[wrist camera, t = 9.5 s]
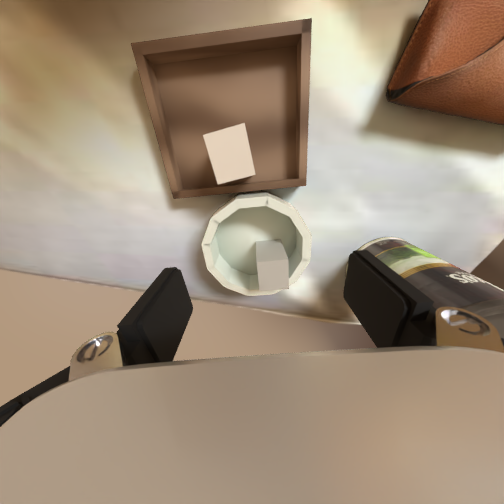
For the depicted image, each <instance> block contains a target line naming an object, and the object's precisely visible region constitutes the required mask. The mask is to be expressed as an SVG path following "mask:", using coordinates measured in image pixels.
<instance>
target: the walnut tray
mask: <svg viewBox="0 0 504 504" xmlns="http://www.w3.org/2000/svg"><path fill="white" fill-rule="evenodd" d="M311 24H312V18H310V19H303V20H296V21H289V22H282V23H274V24H267V25H260V26H253V27H245V28H238V29H231V30H224V31H217V32H209V33H202V34H195V35H188V36H181V37H173V38H166V39H159V40H152V41H144V42H137V43H131V46H132V49H133V53H134V57H135V60H136V64H137V67H138V71H139V75H140V78H141V82H142V86H143V89H144V93H145V96H146V100H147V104H148V107H149V111H150V115H151V118H152V122H153V126H154V129H155V133H156V136H157V140H158V144H159V147H160V151H161V155H162V158H163V162H164V165H165V169H166V173H167V176H168V180H169V184H170V187H171V191H172V194H173V198H174V199H176V198H186V197H196V196H207V195H217V194H227V193H237V192H247V191H257V190H267V189H277V188H287V187H297V186H306V173H307V143H308V114H309V84H310V54H311ZM242 123H245V127H246V132H247V137H248V141H249V146H250V151H251V156H252V160H253V165H254V170H255V174H256V175H253V176H249V177H245V178H241V179H237V180H233V181H230V182H226V183H222V184H217V180H216V177H215V174H214V170H213V167H212V164H211V160H210V157H209V154H208V150H207V147H206V144H205V140H204V137H203V135H205V134H208V133H211V132H215V131H218V130H222V129H225V128H229V127H232V126H235V125H239V124H242Z"/></svg>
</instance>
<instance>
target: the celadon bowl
mask: <svg viewBox="0 0 504 504" xmlns="http://www.w3.org/2000/svg"><path fill="white" fill-rule="evenodd" d="M311 236H312V235H311V233H310V231H309V229H308V228H307V226H306V224H305V223H304V221H303V219H302V218H301V216H300V214H299V213H298V211H297V210H296V209H295V208H294V207H293V206H292V205H291V204H290V203H288V202H286V201H284V200H282V199H281V198H279V197H277V196H275V195H272V194H270V193H268V192H250V193H245V194H238V195H237V196H235V197H234V198H232V199H231V200H229V201H228V202H227V203H226V204H224V205H223V206H222V207H221V208H219V209H218V210H217V211H216V212H215V213H214V215H213V216H212V217H211V219H210V221H209V224H208V227H207V230H206V232H205V235H204V238H203V241H202V243H201V245H202V249H203V254H204V258H205V262H206V266H207V270H208V271H209V272H210V273H211V274H212V275H213V276H214V277H215V278H216V279H217V280H218V281H219V282H220V283H221V284H222V285H223V286H224V287H225V288H228V289H230V290H233V291H236V292H239V293H241V294H244V295H247V296H255V295H269V294H275V293H277V292H278V291H280V290H269V291H260V290H259V281H258V271H257V261H256V241H266V240H276V239H281V241H282V244H283V246H284V249H285V252H286V254H287V257H288V264H289V285H291V284H293V283H295V282H296V281H297V280H298V278H299V277H300V275H301V274H302V272H303V271H304V269H305V268H306V266H307V265H308V263H309V262H310V255H311ZM281 290H282V289H281Z"/></svg>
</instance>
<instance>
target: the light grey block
mask: <svg viewBox="0 0 504 504" xmlns="http://www.w3.org/2000/svg"><path fill="white" fill-rule="evenodd" d="M256 261H257V271H258V281H259V290H260V291H269V290H281V289H289V264H288V257H287V254H286V252H285V249H284V246H283V244H282V241H281V239H276V240H266V241H256Z"/></svg>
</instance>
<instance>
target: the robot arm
mask: <svg viewBox="0 0 504 504" xmlns="http://www.w3.org/2000/svg"><path fill="white" fill-rule="evenodd" d="M344 299H345V300H346V302H347V303H348V305H349V306H350V308H351V309H352V311H353V312H354V314H355V315H356V317H357V318H358V320H359V321H360V323H361V324H362V326H363V327H364V329H365V330H366V332H367V333H368V335H369V336H370V338H371V339H372V341H373V342H374V343H375V345H376V346H377V348H366V349H349V350H333V351H317V352H300V353H285V354H270V355H255V356H240V357H227V358H226V357H225V358H213V359H198V360H184V361H173V358H174V356H175V353H176V351H177V348H178V346H179V344H180V341H181V339H182V336H183V334H184V331H185V329H186V326H187V324H188V321H189V318H190V316H191V314H192V310H193V307H192V303H191V300H190V297H189V294H188V291H187V288H186V285H185V282H184V279H183V276H182V273H181V270H179V269H177V268H176V267H172V268H165V269H164V270H163V271H162V272H161V273H160V274H159V276H158V277H157V278H156V279H155V281H154V282H153V283H152V284H151V285H150V287H149V288H148V289H147V290H146V291H145V293H144V294H143V295H142V296H141V297H140V299H139V300H138V301H137V302H136V304H135V305H134V306H133V307H132V308H131V310H130V311H129V312H128V313H127V314H126V316H125V317H124V318H123V319H122V320H121V322H120V323H119V324H118V325H117V326H118V328H119V330H118V331H117V333H114V332H106V333H102V334H99V335H97V336H95V337H93V338H91V339H90V340H88V341H87V342H85V343H84V344H83V345H81V347H79V348H78V349H77V351H76V352H75V353H74V355H73V356H72V359H71V365H70V366H69V367H67V368H66V369H64V370H62V371H60V372H59V373H57V374H55V375H53V376H52V377H50V378H48V379H47V380H45V381H43V382H41V383H40V384H38V385H36V386H35V387H33V388H31V389H29V390H28V391H26V392H24V393H22V394H21V395H19V396H17V397H16V398H14V399H12V400H10V401H9V402H7V403H6V404H4V405H3V406H1V407H0V504H504V339H503V338H500V335H499V333H498V331H497V329H496V328H495V326H493V325H492V324H491V323H490V322H489V321H487V320H486V319H484V318H482V317H481V316H479V315H477V314H475V313H472V312H470V311H467V310H464V309H460V308H456V307H440V308H438V309H435V308H434V307H433V306H432V305H433V303H434V301H433V300H431V299H430V298H429V297H428V296H426V295H425V294H424V293H422V292H421V291H420V290H418V289H417V288H416V287H415V286H413V285H412V284H411V283H409V282H408V281H407V280H405V279H404V278H403V277H401V276H400V275H399V274H398V273H396V272H395V271H394V270H392V269H391V268H390V267H388V266H387V265H386V264H385V263H383V262H382V261H381V260H379V259H378V258H377V257H375V256H374V255H373V254H371V253H370V252H369V251H368V250H357V251H353V253H352V254H350V255H349V261H348V267H347V274H346V280H345V287H344Z"/></svg>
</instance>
